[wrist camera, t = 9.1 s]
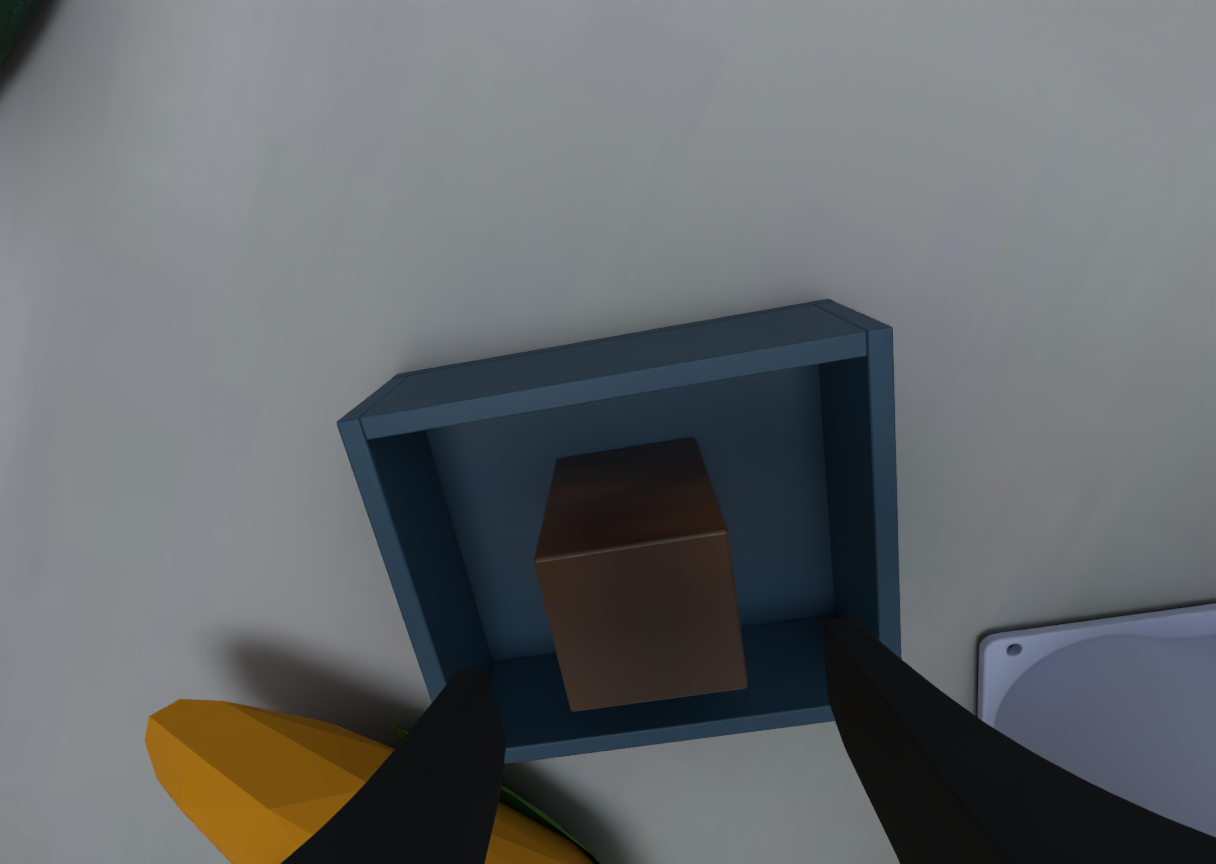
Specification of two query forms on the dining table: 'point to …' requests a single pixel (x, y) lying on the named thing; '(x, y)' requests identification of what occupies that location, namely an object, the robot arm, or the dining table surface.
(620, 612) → the block
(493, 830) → the corn
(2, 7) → the coffee jar
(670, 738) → the bin
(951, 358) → the dining table surface
